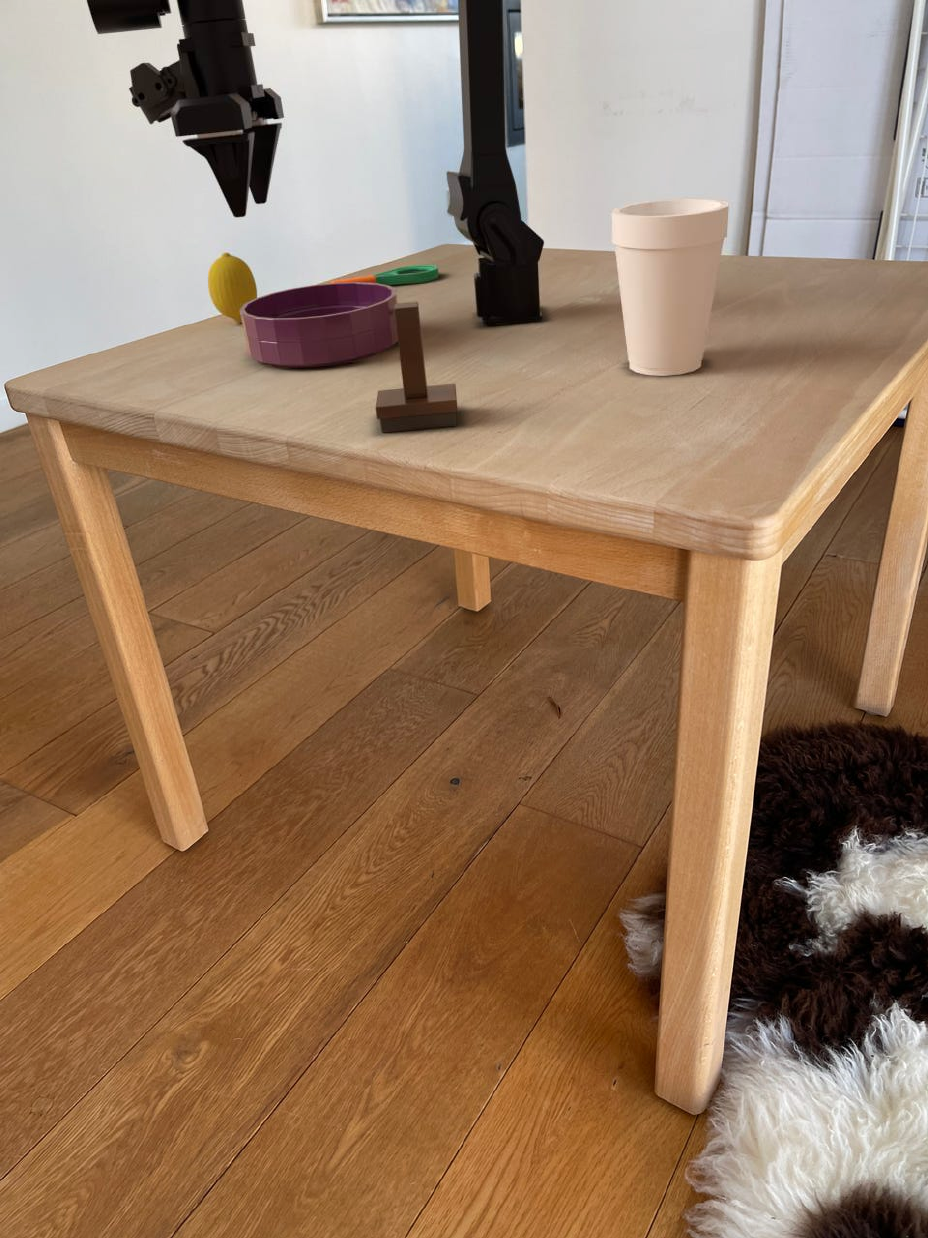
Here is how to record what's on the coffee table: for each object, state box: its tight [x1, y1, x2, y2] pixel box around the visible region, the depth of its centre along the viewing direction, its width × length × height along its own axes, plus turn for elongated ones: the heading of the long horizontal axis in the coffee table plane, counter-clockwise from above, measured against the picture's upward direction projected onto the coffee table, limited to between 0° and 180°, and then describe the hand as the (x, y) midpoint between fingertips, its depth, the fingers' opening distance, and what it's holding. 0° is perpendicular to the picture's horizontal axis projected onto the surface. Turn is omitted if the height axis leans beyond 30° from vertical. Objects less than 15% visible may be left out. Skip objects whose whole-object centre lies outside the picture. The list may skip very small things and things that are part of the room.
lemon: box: [207, 252, 258, 324], centre depth 109 cm, size 6×6×8 cm
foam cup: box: [611, 198, 730, 377], centre depth 79 cm, size 10×9×13 cm
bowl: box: [240, 282, 399, 369], centre depth 96 cm, size 16×16×5 cm
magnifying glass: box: [329, 264, 440, 286], centre depth 123 cm, size 15×6×2 cm, turn 118°
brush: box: [375, 301, 459, 434], centre depth 73 cm, size 6×4×9 cm
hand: (250, 209), depth 91 cm, fingers open, 9 cm apart
